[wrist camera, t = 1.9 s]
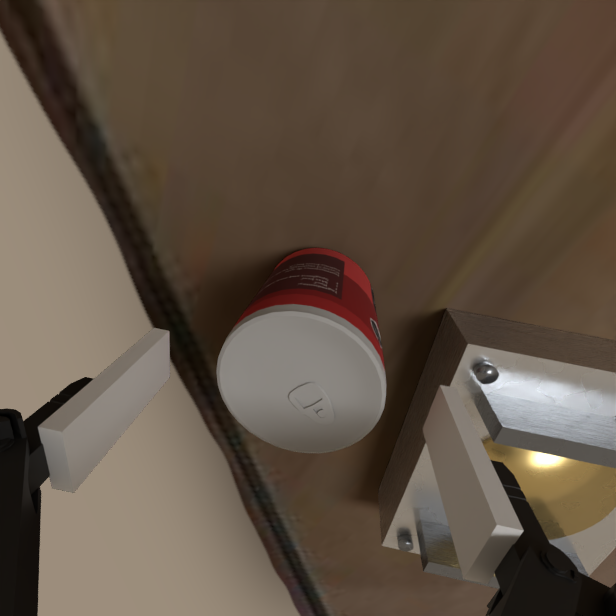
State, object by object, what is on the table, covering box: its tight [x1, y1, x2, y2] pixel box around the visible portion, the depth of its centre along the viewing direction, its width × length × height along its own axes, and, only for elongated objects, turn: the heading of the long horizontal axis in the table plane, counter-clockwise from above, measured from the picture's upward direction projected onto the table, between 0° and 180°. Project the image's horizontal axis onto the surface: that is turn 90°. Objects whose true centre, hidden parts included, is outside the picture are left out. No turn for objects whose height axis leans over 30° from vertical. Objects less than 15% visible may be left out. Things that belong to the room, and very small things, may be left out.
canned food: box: [216, 248, 387, 453], centre depth 20 cm, size 8×8×11 cm
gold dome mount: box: [378, 308, 616, 589], centre depth 24 cm, size 20×16×8 cm
